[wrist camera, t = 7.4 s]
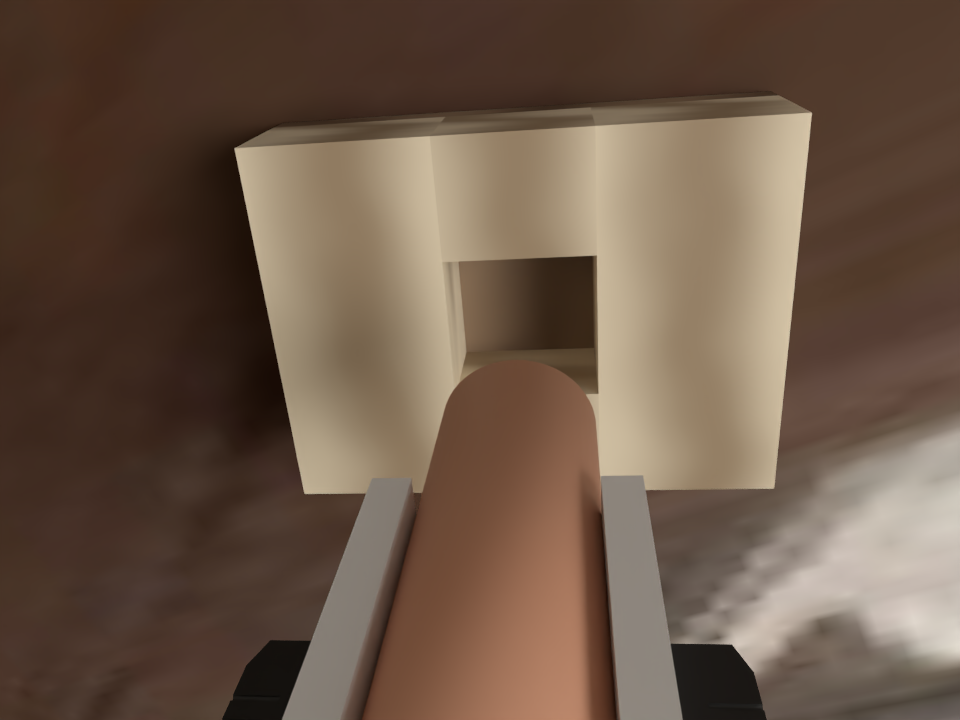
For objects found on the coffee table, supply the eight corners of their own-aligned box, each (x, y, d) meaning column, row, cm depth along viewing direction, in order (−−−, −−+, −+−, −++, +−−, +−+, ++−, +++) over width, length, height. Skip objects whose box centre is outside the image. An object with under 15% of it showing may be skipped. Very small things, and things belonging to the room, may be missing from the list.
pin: (449, 493, 20) (207, 1633, 6) (435, 362, 18) (66, 1505, 5) (597, 491, 19) (682, 1709, 6) (595, 357, 18) (704, 1595, 4)
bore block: (336, 428, 32) (304, 494, 28) (282, 122, 27) (234, 148, 23) (744, 420, 30) (774, 488, 26) (771, 91, 25) (811, 112, 21)
